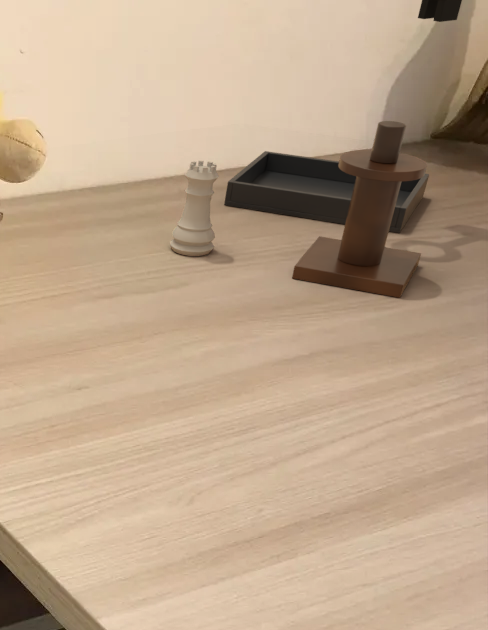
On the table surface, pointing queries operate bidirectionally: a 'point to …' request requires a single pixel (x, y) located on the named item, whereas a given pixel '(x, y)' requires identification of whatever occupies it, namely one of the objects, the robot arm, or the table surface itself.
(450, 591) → the table surface
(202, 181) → the rook chess piece
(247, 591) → the table surface
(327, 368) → the table surface
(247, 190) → the tray
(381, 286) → the peg stand
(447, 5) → the robot arm
